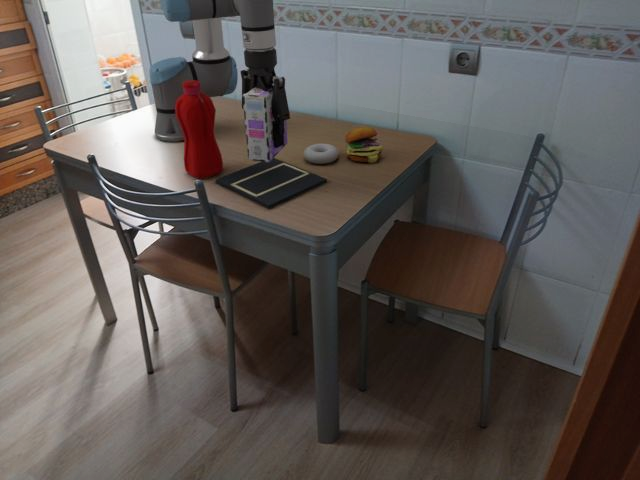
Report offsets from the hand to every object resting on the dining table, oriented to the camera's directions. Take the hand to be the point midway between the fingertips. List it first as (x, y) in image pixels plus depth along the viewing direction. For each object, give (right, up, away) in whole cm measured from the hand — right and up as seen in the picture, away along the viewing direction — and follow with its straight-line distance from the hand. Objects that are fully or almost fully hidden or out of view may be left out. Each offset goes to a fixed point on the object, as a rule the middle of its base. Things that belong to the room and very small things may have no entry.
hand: (267, 141), depth 132 cm
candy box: (0, -2, +2) cm, 3 cm away
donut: (+14, -2, +19) cm, 23 cm away
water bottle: (-18, -6, +12) cm, 23 cm away
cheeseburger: (+26, -1, +19) cm, 32 cm away
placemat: (0, -10, +6) cm, 11 cm away
